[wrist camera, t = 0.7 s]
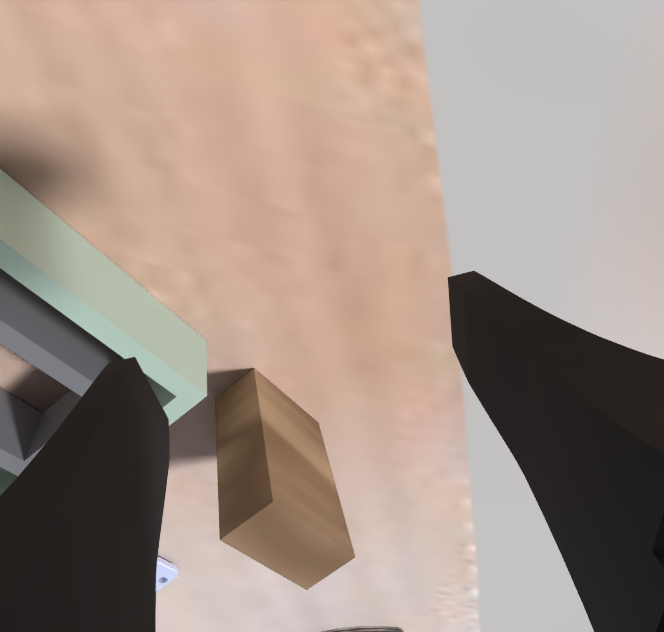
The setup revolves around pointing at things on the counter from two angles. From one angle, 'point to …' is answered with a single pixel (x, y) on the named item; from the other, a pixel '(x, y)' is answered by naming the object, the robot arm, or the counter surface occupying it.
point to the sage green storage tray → (78, 325)
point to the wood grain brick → (277, 484)
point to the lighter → (368, 629)
